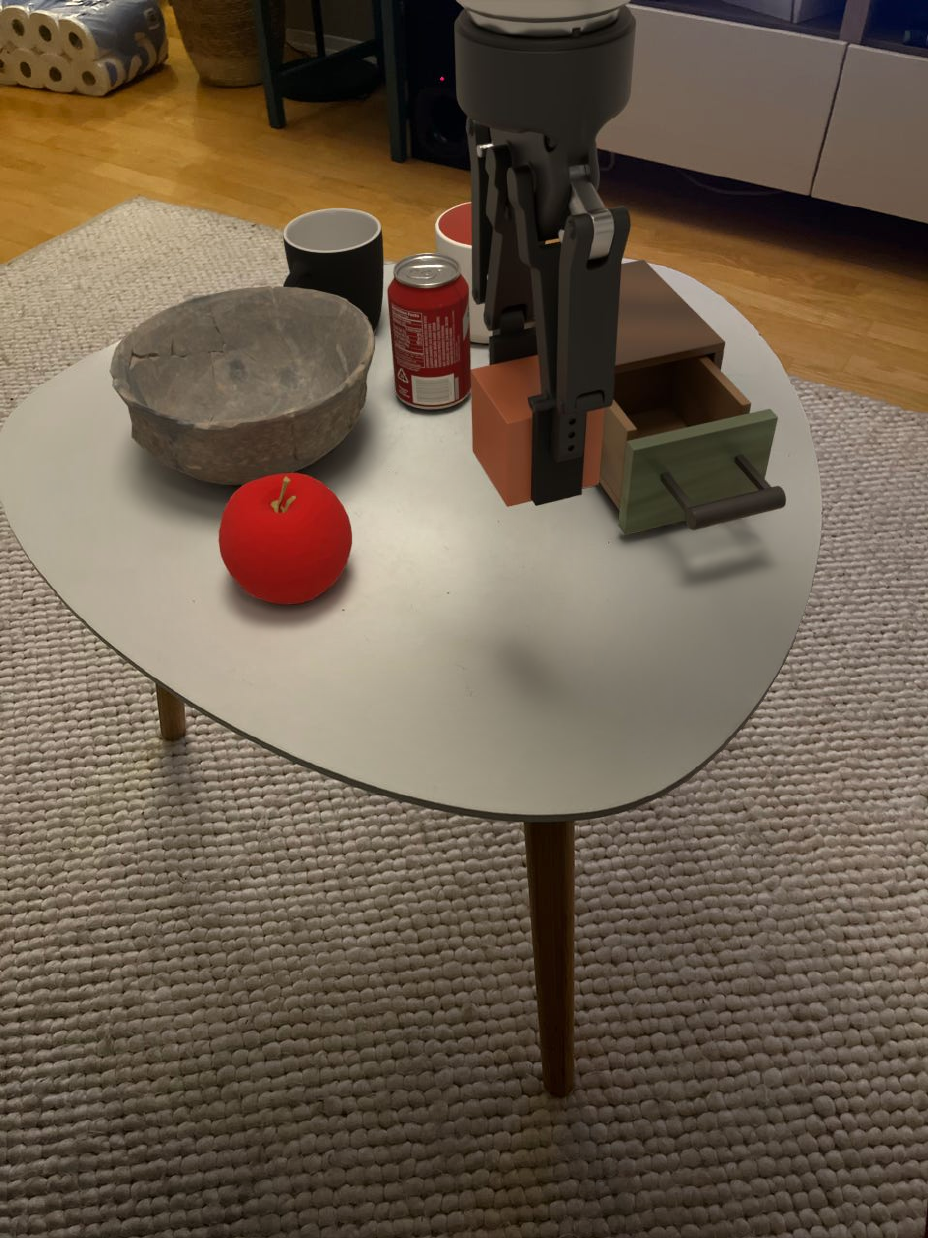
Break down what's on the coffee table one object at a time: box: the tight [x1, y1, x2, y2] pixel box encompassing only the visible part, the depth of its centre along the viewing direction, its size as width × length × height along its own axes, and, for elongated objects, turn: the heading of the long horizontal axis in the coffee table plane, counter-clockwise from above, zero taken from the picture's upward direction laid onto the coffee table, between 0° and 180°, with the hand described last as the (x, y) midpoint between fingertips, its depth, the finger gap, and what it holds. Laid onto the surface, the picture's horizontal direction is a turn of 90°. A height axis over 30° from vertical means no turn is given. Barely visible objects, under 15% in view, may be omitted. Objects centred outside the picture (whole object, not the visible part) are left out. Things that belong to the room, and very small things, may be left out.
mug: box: [282, 207, 385, 333], centre depth 99 cm, size 12×9×10 cm
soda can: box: [386, 252, 472, 411], centre depth 91 cm, size 7×7×12 cm
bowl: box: [109, 285, 376, 486], centre depth 86 cm, size 21×21×10 cm
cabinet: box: [524, 259, 726, 374], centre depth 89 cm, size 15×13×10 cm
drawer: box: [599, 355, 787, 536], centre depth 81 cm, size 19×11×8 cm, turn 19°
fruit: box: [218, 472, 353, 605], centre depth 75 cm, size 9×9×10 cm
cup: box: [434, 201, 492, 344], centre depth 100 cm, size 10×10×10 cm
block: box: [470, 355, 605, 508], centre depth 58 cm, size 6×6×6 cm
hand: (534, 463), depth 60 cm, fingers closed on block, 5 cm apart
